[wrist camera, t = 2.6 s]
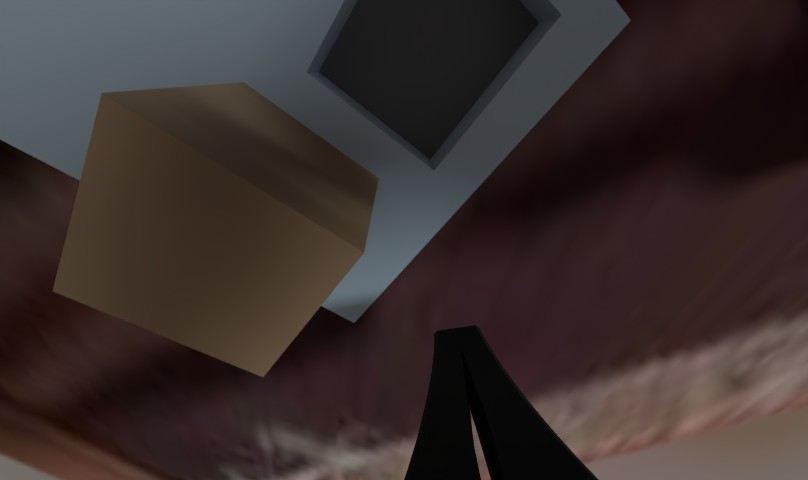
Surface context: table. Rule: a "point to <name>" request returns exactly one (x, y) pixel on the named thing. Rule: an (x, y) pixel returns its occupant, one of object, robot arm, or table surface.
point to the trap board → (318, 87)
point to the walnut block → (212, 220)
